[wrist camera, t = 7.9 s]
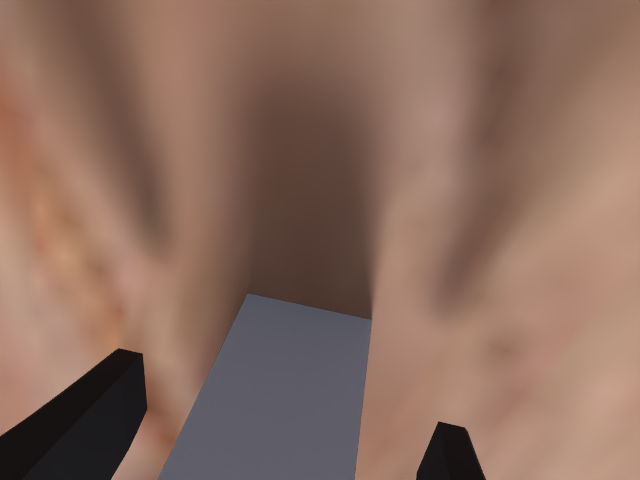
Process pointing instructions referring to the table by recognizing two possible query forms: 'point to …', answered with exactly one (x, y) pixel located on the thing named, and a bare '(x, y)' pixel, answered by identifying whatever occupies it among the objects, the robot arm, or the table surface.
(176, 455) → the tall pale blue pillar
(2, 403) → the table surface
